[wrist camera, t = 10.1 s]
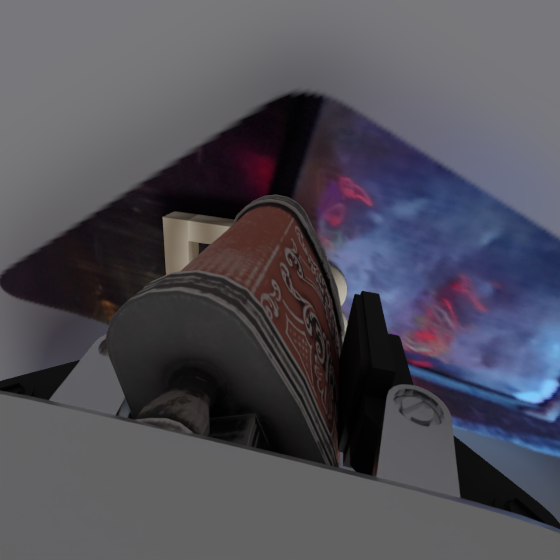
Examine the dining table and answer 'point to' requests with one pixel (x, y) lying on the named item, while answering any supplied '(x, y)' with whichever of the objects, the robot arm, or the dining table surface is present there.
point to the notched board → (189, 236)
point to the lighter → (240, 339)
